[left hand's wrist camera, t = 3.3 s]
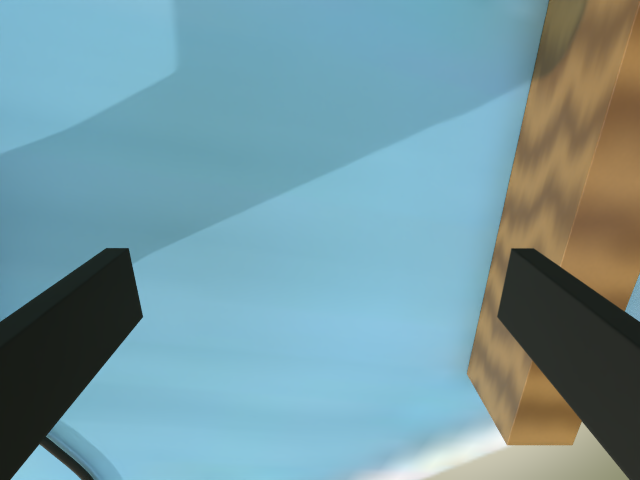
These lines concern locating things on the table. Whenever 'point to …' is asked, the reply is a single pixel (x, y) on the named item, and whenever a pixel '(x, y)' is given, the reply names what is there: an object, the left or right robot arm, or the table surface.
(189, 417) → the table surface
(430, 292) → the table surface
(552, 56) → the bar
